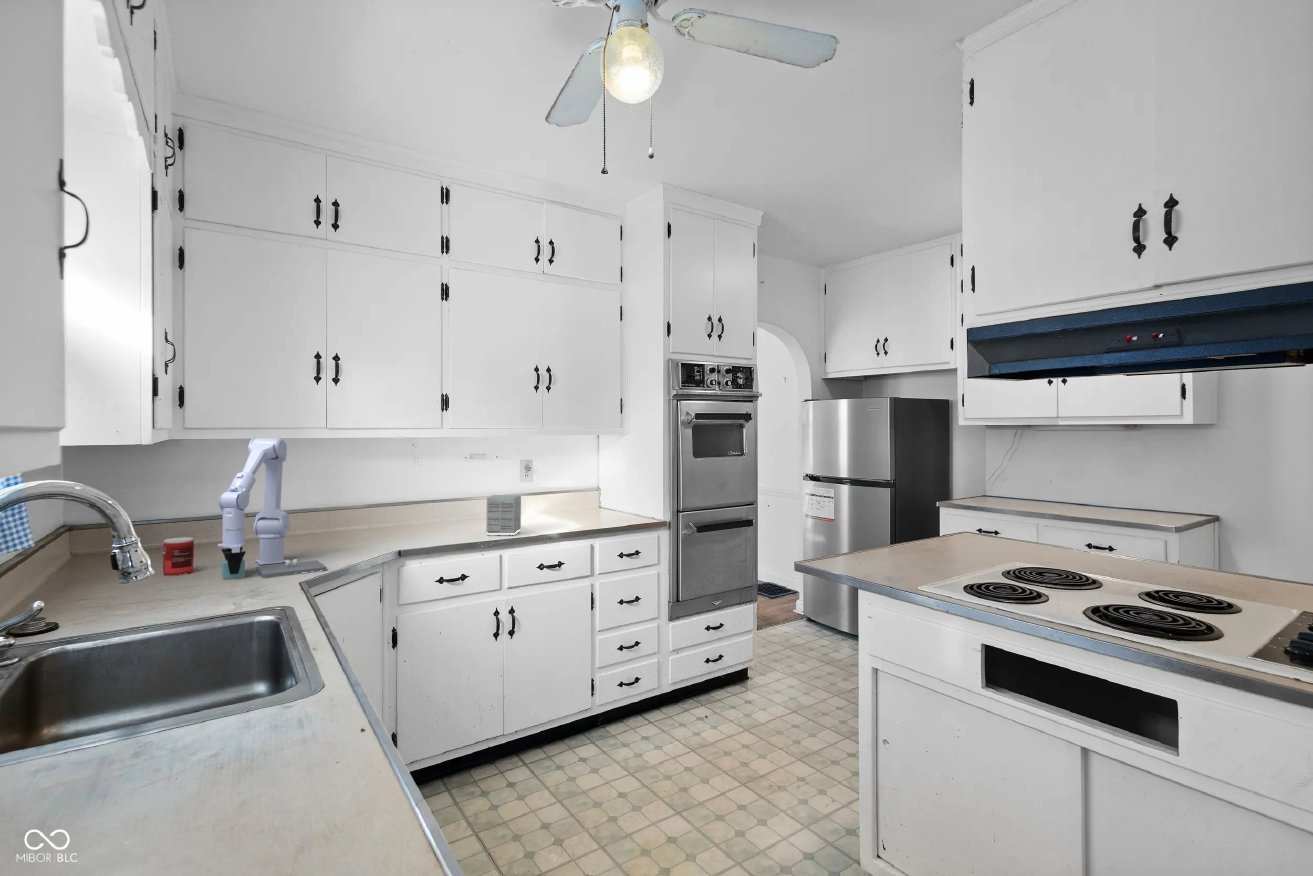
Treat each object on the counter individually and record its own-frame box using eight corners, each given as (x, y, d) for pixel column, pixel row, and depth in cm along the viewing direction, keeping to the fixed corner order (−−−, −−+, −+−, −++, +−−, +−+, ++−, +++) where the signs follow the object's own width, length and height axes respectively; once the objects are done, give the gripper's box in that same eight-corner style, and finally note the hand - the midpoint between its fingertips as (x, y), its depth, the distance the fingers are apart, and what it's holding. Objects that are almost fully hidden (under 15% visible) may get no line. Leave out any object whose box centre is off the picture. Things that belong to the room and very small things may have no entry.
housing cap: (221, 576, 194) (221, 560, 194) (242, 573, 198) (242, 558, 198) (223, 579, 190) (223, 563, 190) (244, 577, 194) (244, 561, 194)
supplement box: (493, 531, 292) (493, 494, 292) (521, 531, 292) (521, 495, 292) (485, 536, 279) (486, 497, 279) (514, 536, 279) (515, 497, 279)
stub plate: (256, 570, 203) (256, 559, 203) (317, 563, 215) (317, 553, 215) (262, 578, 193) (263, 566, 193) (326, 570, 204) (326, 559, 204)
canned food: (176, 570, 202) (176, 537, 202) (199, 571, 202) (200, 537, 202) (156, 575, 194) (156, 541, 194) (180, 576, 194) (181, 541, 194)
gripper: (215, 527, 197) (215, 569, 197) (220, 533, 186) (219, 578, 186) (242, 525, 202) (241, 567, 202) (248, 531, 191) (247, 575, 191)
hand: (233, 572), depth 194 cm, fingers closed on housing cap, 6 cm apart
